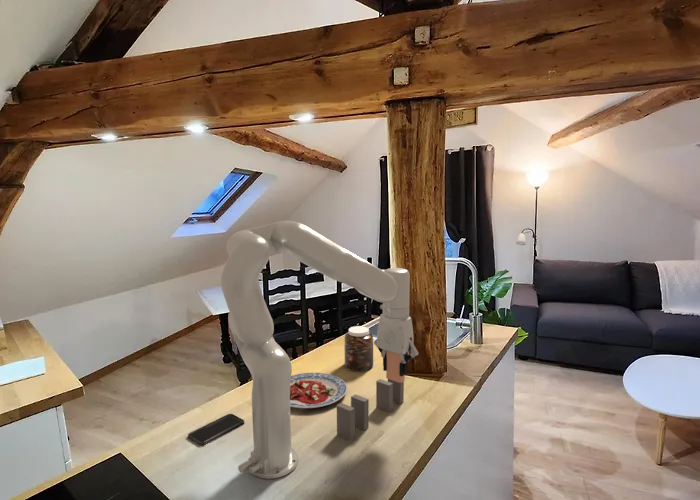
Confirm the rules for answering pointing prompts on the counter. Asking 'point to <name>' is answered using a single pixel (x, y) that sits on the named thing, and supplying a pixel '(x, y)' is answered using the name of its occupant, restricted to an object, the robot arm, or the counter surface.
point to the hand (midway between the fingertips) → (395, 371)
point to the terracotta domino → (393, 367)
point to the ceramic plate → (315, 390)
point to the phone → (215, 429)
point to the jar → (358, 349)
